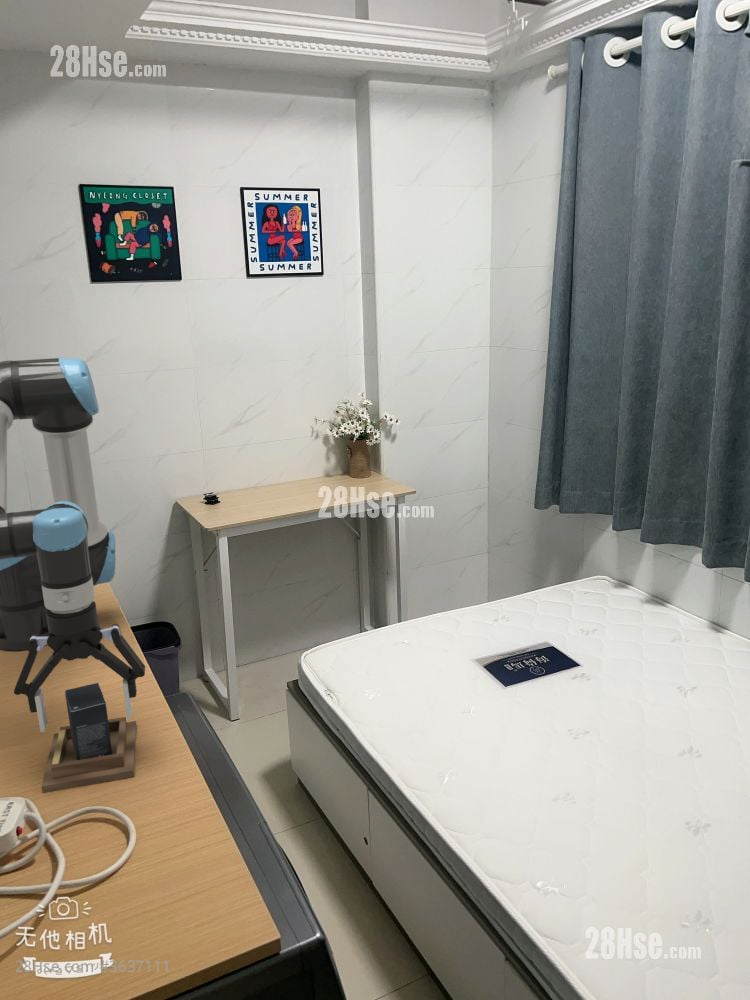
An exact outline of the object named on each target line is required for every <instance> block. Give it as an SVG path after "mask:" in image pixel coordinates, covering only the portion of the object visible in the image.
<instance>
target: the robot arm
mask: <svg viewBox="0 0 750 1000" xmlns="http://www.w3.org/2000/svg"><path fill="white" fill-rule="evenodd" d="M90 372H91V371H90V368H89V366H88V363H86V361H85V360H83V359H81V358H77V357H76V358H75V357H74V358H73V357H71V358H67V357H58V358H57V357H56V358H55V357H54V358H53V357H52V358H40V359H39V358H38V359H37V358H36V359H22V360H2V361H0V650H3V651H11V652H13V651H25V650H26V651H27V650H28V654H27V657H26V659H25V660H24V663H23V667H22V669H21V671H20V674H19V676H18V679H17V681H16V684H15V687H14V690H13V694H14V695H16V696H19V695H25V696H26V697H27V701H28V707H29V711H30V713H32V714H33V713H37V719H38V725H39V731H40V733H43V732H46V730H47V728H48V727H47V726H48V722H49V721H48V716H47V709H46V703H45V698H44V693H43V692H44V691H43V687H42V685H43V683H45V681H46V680H47V678H48V677H49V676H50V674H51V673H52V672H53V670H55V668H56V667H57V666H58V665H59V663H60V662H61V661H62V660H66V661H67V662H71V661H75V660H78V659H81V660H85V659H88V658H89V657H92V658H93V659H95V660H97V661H100V662H102V663H103V664H104V665H105V666H106V667H108V668H110V669H111V670H112V671H113V672H115V673H116V675H118V676H119V677H121V678H122V689H123V691H122V692H123V698H124V705H125V706H124V707H125V712H126V713H125V714H126V719H132V718H133V716H132V715H133V706H132V698H136V696H137V692H138V691H137V683H136V680H137V679H138V678H144V677H145V675H146V665H145V664H144V663H143V661H142V660H141V658H140V657H139V656H138V654H136V652H135V651H134V649H133V648H132V646H130V644H129V643H128V641H127V640H126V639H125V638H124V636H123V634H122V632H121V628H120V627H121V626H120V625H119V624H118V623H114V624H112V625H111V627H107V628H103V629H102V628H101V626H100V623H99V619H98V618H99V617H98V611H97V604H96V602H95V599H96V596H95V589H94V588H95V587H96V586H97V585H102V584H105V583H110V582H112V581H113V579H114V578H115V575H116V560H117V559H116V537H115V534H114V532H112V531H111V532H110V531H108V528H107V526H106V525H105V524H104V523H103V522H101V521H100V520H99V519H100V518H99V511H98V503H97V497H96V492H95V491H96V490H95V484H94V483H95V482H94V476H93V469H92V461H91V455H90V454H91V453H90V448H89V440H88V431H87V429H88V428H90V426H91V425H93V421H94V418H93V416H95V415H97V414H99V412H100V411H99V409H100V408H99V403H98V399H97V394H96V390H95V386H94V383H93V379H92V375H91V373H90ZM15 420H16V421H17V420H31V422H32V427H33V428H34V429H35V430H36V431H38V432H39V433H40V434H42V439H43V445H44V450H45V456H46V457H45V458H46V463H47V469H48V474H49V479H50V480H49V481H50V486H51V492H52V498H53V499H52V500H53V503H52V504H50V505H48V506H47V507H46V508H41V509H32V510H25V511H13V512H7V510H8V506H7V505H8V504H7V503H8V498H7V497H8V491H7V490H8V430H9V429H10V428H11V427H12V425H13V422H14V421H15ZM94 586H95V587H94ZM103 638H106V639H107V640H108V641H109V642H112V643H113V645H114V647H115V649H116V650H118V652H119V653H120V654H121V657H123V659H125V661H126V662H127V663H128V664H127V663H125V662H124V661H123V660H121V658H119V657H117V655H115V654H114V653H113V652H111V651H110V650H109V649H107V647H106V646H105V644H103V643H102V642H101V641H102V640H103ZM46 645H47V646H48V647H49V648H50V649H52V653H51V655H50V656H49V658H48V659H47V660H46V662H45V663H44V664H43V666H42V667H41V668H40V669H39V671H38V672H37V673H36V675H35V676H34V678H33V679H32V680H31V682H29V683H27V681H28V678H29V675H30V673H31V670H32V668H33V665H34V663H35V661H36V659H37V655H38V652H40V651H42V650H43V649H44V647H45V646H46Z"/></svg>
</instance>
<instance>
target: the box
mask: <svg viewBox="0 0 750 1000" xmlns="http://www.w3.org/2000/svg"><path fill="white" fill-rule="evenodd" d="M64 696H65V702H66V708H67V714H68V715H67V716H68V721H69V726H70V730H71V737H72V743H73V748H74V752H75V756H76V760H82V759H88V758H94V757H100V756H106V755H112V748H111V740H110V731H109V724H108V720H109V717H108V711H107V710H108V708H107V704H106V700H105V697H104V695H103V692H102V688H101V687H100V684H99V682H95V683H91V684H88V685H87V684H86V685H82V686H78V687H74V688H70V689H66V690H64Z"/></svg>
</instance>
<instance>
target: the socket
mask: <svg viewBox="0 0 750 1000" xmlns="http://www.w3.org/2000/svg"><path fill="white" fill-rule="evenodd" d="M108 724H109V731H110V740H111V748H112V755H106V756H100V757H94V758H88V759H82V760H76V756H75V752H74V748H73V743H72V737H71V730H70V725H65V726H59V727H60V728H59V731H58V732H56V733H53V737H52V741H51V745H50V748H49V752H48V757H47V760H46V766H45V770H44V774H43V779H42V782H41V792H42V794H43V793H49V792H54V791H61V790H67V789H71V788H77V787H83V786H89V785H95V784H100V783H105V782H111V781H117V780H122V779H128V778H134V777H135V763H136V760H135V759H136V747H137V746H136V744H137V730H138V729H137V727H138V725H137V720H132V721H127V716H124V717H115V718H108Z"/></svg>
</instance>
